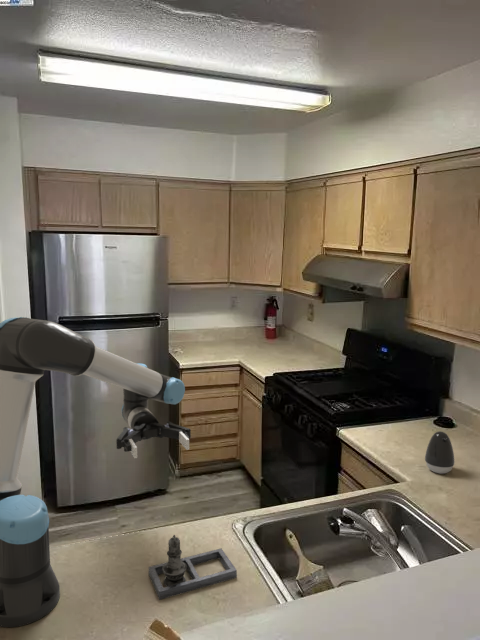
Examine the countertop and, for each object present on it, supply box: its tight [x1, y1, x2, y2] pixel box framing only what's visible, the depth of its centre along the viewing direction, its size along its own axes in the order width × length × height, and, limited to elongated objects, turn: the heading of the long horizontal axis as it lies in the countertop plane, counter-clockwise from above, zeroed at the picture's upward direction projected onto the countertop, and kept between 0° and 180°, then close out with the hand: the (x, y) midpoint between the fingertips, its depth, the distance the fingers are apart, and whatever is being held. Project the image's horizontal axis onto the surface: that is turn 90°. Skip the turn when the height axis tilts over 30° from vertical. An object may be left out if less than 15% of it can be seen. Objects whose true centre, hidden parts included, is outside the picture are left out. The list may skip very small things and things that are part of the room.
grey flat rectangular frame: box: [148, 547, 238, 601], centre depth 119 cm, size 20×10×2 cm, turn 114°
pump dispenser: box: [424, 430, 456, 474], centre depth 180 cm, size 10×10×15 cm
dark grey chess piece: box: [162, 534, 187, 587], centre depth 117 cm, size 6×6×12 cm
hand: (162, 448), depth 123 cm, fingers open, 13 cm apart
